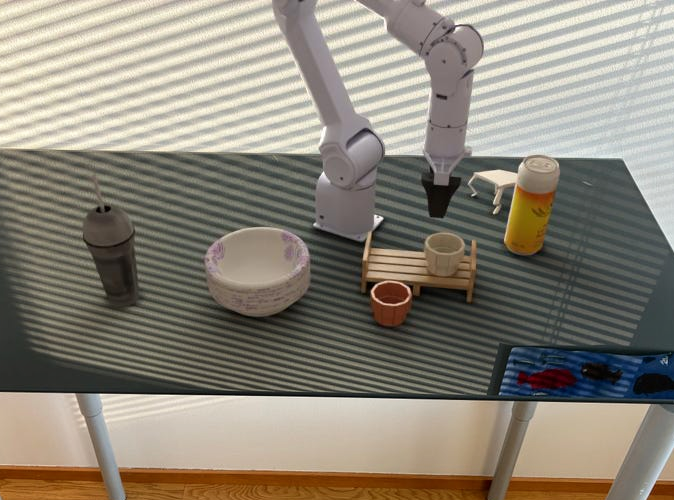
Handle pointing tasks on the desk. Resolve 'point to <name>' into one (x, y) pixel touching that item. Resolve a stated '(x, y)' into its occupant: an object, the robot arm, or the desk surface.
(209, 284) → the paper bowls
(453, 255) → the cream bowl
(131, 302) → the beverage cup
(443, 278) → the bowl rack
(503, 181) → the white miniature table
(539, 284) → the desk surface
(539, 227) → the beer can
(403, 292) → the terracotta bowl
